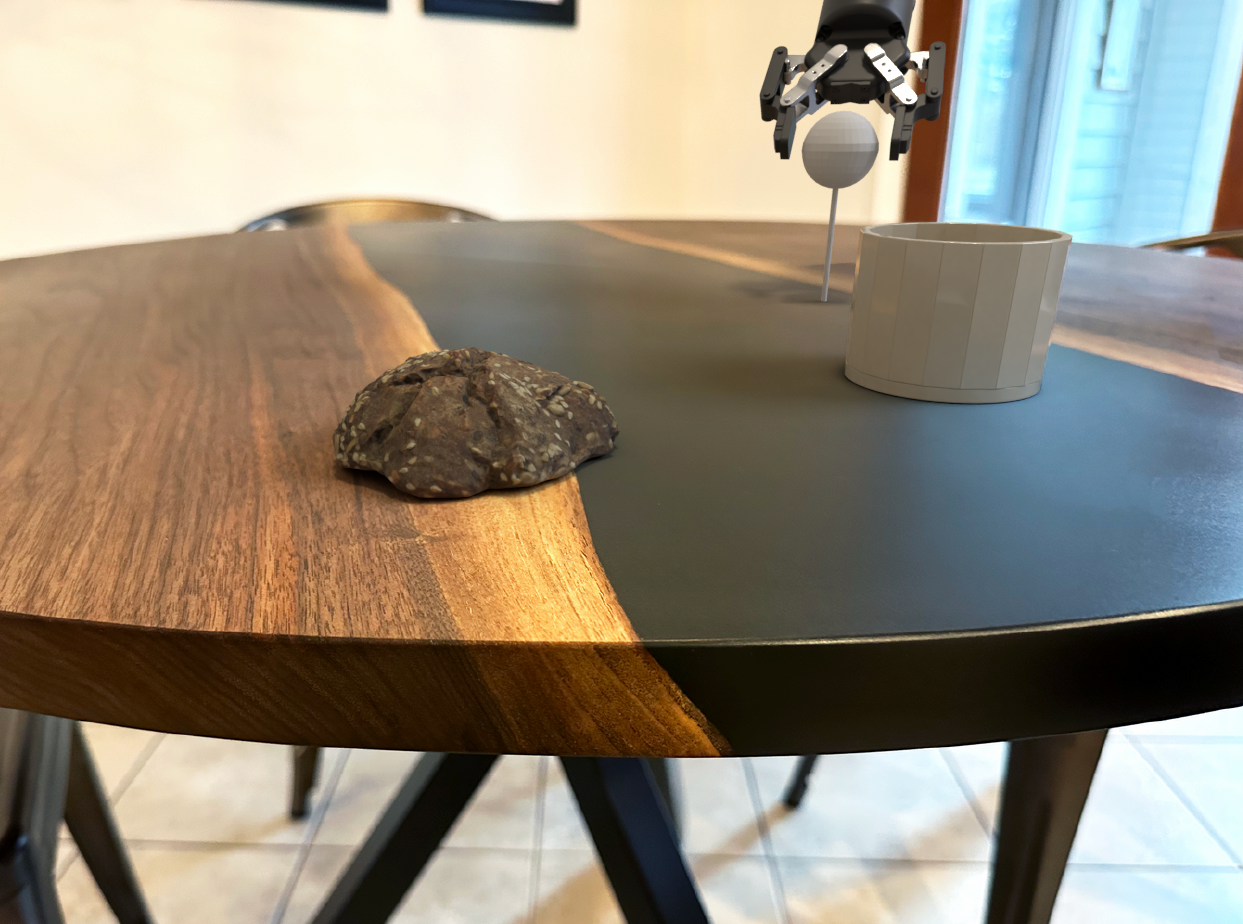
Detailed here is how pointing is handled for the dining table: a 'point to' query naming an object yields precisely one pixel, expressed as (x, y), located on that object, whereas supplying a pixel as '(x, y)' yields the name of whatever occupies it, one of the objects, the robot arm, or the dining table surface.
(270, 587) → the dining table surface
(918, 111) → the robot arm
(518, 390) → the bread roll
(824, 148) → the lollipop
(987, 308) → the white plant pot
